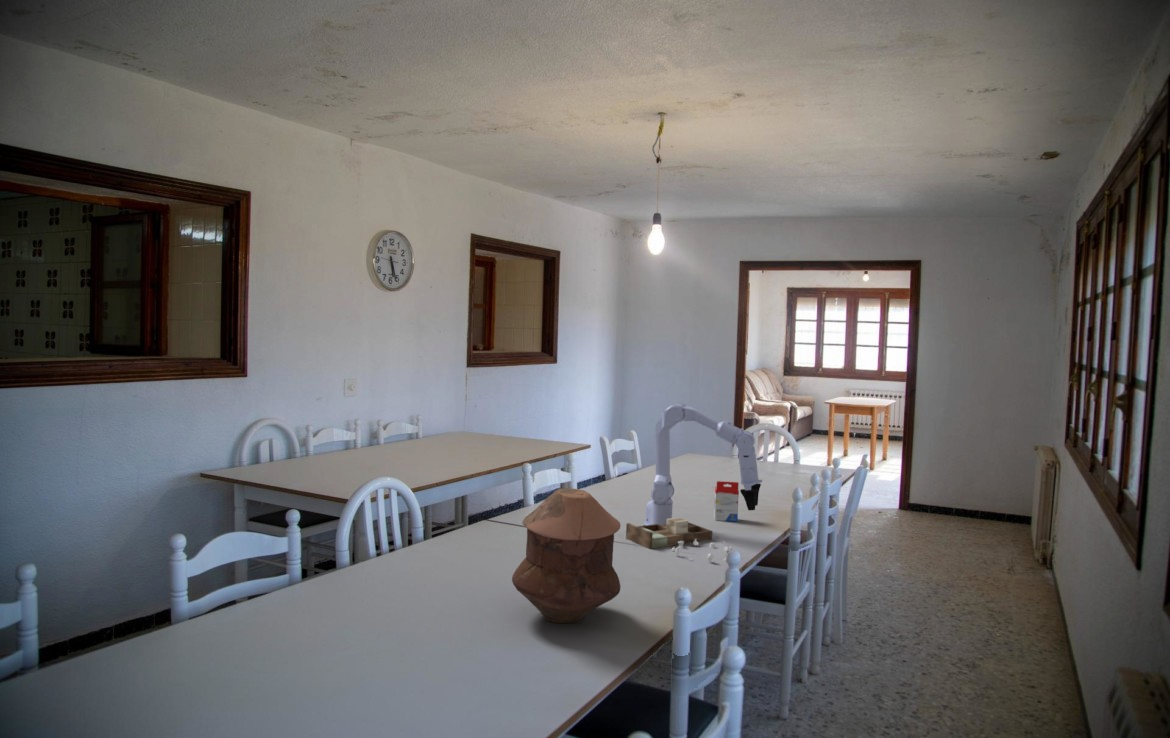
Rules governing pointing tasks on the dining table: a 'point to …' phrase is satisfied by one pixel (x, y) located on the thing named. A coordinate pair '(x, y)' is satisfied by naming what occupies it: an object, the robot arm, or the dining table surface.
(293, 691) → the dining table surface
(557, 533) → the pottery vessel
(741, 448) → the robot arm
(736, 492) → the ink box
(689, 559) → the game piece set
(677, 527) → the birch block
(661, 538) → the trap board
